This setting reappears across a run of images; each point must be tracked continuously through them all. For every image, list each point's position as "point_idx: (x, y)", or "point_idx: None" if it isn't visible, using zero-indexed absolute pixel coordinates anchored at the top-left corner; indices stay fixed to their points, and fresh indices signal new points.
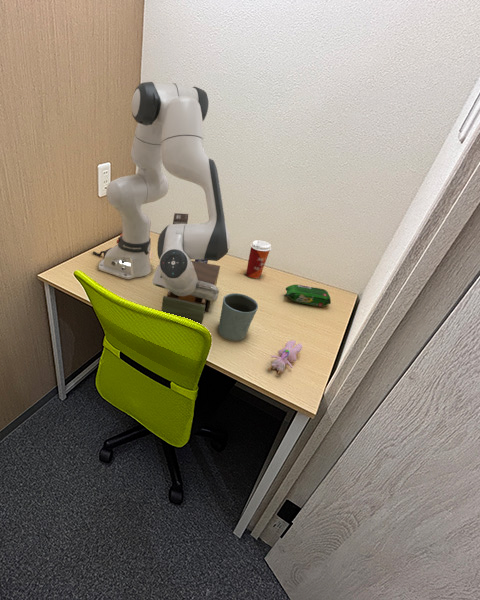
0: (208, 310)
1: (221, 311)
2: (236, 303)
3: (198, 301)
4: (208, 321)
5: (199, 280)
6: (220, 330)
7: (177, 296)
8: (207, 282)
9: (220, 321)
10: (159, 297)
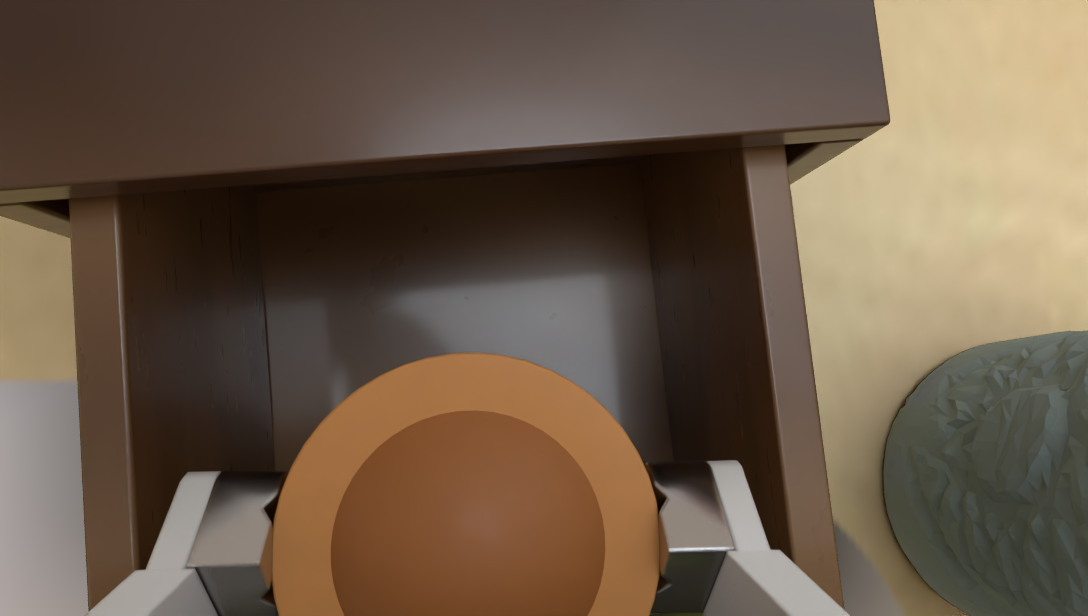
0: None
1: (1082, 598)
2: None
3: (568, 166)
4: None
5: (570, 17)
6: (955, 600)
7: (283, 188)
8: (742, 23)
9: (997, 597)
10: None
